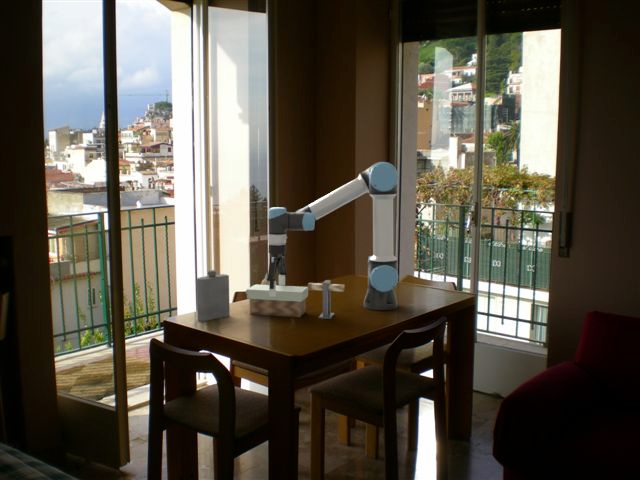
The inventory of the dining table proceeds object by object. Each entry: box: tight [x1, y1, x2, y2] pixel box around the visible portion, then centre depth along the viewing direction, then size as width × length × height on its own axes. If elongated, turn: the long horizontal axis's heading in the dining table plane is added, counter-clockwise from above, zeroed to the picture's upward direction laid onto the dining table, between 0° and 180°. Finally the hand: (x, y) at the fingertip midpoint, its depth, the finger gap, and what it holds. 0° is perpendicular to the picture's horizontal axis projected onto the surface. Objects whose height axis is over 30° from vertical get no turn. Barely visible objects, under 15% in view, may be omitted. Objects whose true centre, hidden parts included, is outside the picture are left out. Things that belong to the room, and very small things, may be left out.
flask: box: [196, 269, 230, 322], centre depth 286 cm, size 15×6×20 cm, turn 133°
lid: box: [246, 283, 309, 302], centre depth 295 cm, size 24×11×4 cm, turn 76°
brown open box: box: [249, 298, 306, 318], centre depth 295 cm, size 22×9×7 cm, turn 76°
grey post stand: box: [318, 279, 335, 320], centre depth 290 cm, size 5×8×15 cm, turn 166°
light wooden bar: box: [307, 282, 346, 293], centre depth 289 cm, size 15×3×3 cm, turn 76°
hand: (277, 293), depth 295 cm, fingers open, 13 cm apart
